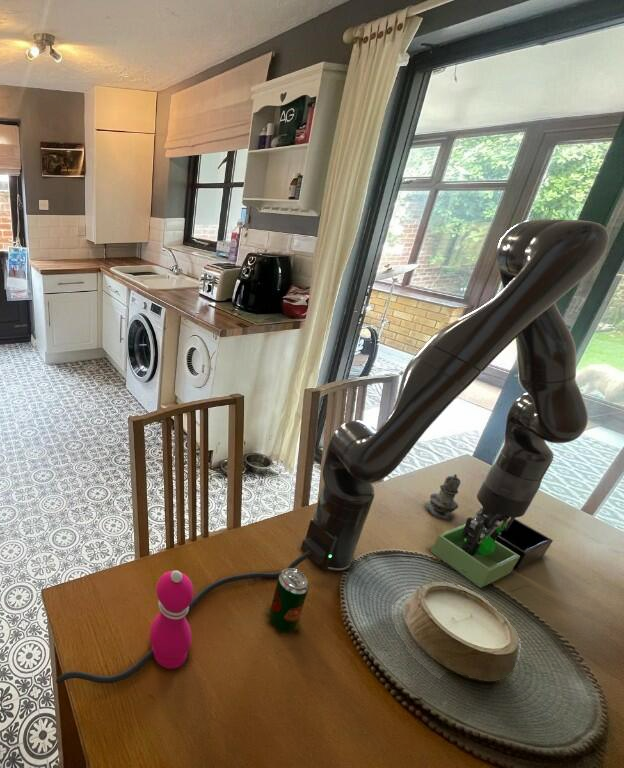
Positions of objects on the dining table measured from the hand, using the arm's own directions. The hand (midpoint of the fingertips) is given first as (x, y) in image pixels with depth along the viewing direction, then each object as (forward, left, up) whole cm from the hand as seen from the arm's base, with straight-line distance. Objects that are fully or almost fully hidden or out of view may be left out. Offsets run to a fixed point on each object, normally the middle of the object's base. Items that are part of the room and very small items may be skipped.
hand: (476, 548), depth 89 cm
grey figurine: (+10, +13, -4) cm, 17 cm away
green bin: (0, 0, -4) cm, 4 cm away
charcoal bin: (+12, 0, -4) cm, 13 cm away
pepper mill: (-72, +7, -4) cm, 72 cm away
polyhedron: (0, 0, -1) cm, 1 cm away
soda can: (-49, +4, -4) cm, 49 cm away
